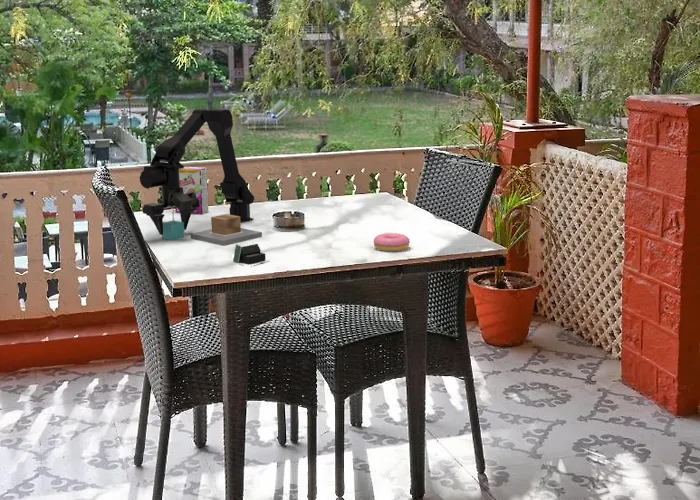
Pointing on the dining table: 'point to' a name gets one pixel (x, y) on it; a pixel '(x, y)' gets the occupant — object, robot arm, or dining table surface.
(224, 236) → the base plate
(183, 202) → the robot arm
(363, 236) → the dining table surface
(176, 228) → the teal block
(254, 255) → the dark stepped block
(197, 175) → the candy bar box
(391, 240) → the doughnut
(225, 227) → the walnut block
